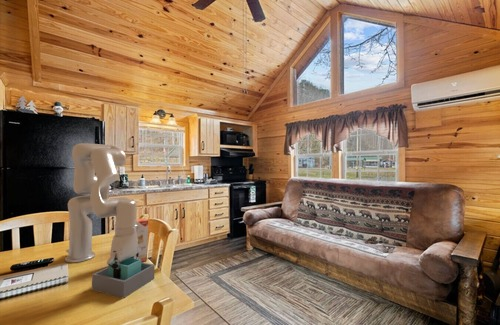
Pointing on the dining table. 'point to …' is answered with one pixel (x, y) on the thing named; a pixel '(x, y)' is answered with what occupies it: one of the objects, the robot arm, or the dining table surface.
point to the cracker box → (142, 237)
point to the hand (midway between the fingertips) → (124, 273)
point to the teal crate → (127, 268)
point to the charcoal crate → (122, 281)
